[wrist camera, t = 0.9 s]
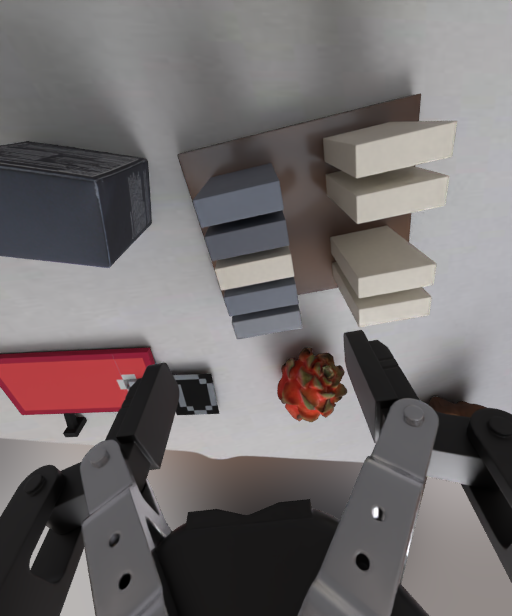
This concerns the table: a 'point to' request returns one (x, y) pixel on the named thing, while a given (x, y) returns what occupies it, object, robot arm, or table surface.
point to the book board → (303, 182)
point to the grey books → (249, 245)
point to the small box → (71, 203)
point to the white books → (385, 214)
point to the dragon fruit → (311, 385)
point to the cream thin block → (254, 268)
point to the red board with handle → (90, 383)
